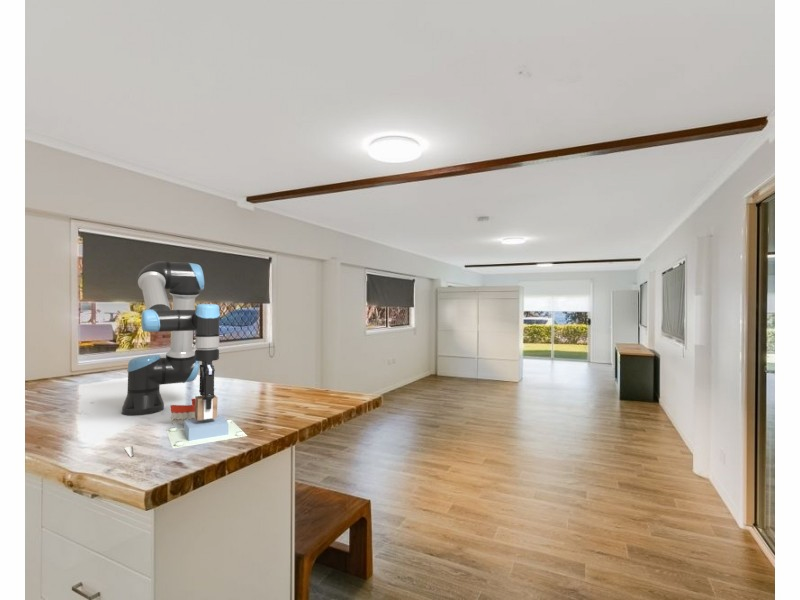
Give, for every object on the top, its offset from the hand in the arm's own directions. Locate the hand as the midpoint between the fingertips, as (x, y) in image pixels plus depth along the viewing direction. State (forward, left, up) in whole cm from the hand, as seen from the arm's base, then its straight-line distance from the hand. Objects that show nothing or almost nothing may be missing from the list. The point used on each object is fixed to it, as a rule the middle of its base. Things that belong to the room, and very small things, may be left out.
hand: (206, 416), depth 139 cm
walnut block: (0, 0, 0) cm, 0 cm away
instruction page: (+3, -19, -7) cm, 20 cm away
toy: (-20, -1, -7) cm, 22 cm away
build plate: (0, 0, -7) cm, 7 cm away
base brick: (0, 0, -6) cm, 6 cm away
